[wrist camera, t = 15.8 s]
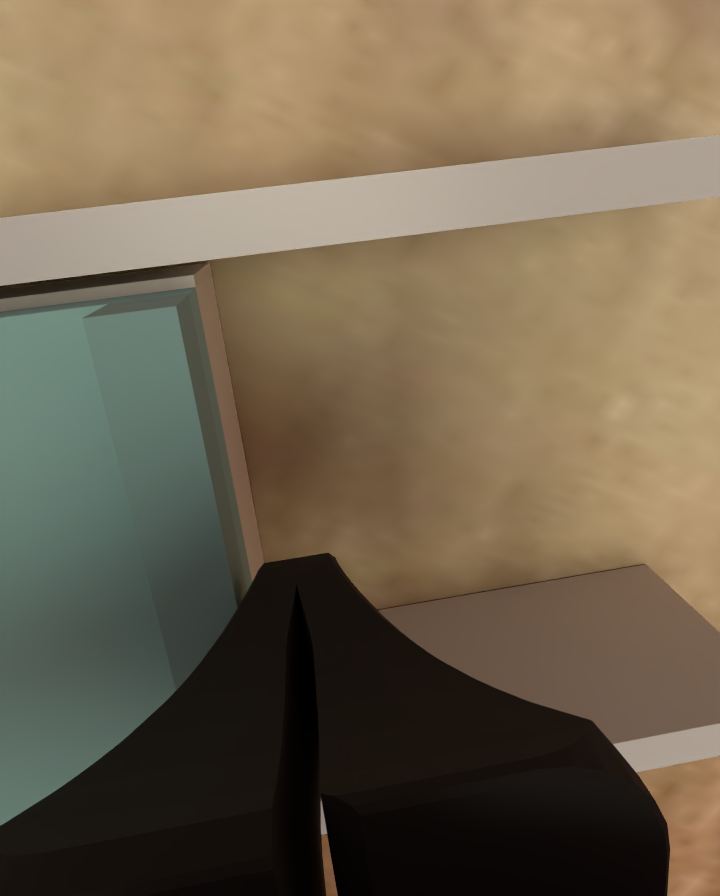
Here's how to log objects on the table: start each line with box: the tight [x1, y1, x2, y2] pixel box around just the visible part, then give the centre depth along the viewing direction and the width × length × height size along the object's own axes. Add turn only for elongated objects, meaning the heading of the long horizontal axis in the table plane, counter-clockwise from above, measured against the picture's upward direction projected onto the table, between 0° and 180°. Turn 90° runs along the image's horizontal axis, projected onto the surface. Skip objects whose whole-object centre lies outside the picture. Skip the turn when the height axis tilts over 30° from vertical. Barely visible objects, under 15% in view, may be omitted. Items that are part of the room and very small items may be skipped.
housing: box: [0, 135, 720, 835], centre depth 16 cm, size 14×24×7 cm, turn 96°
